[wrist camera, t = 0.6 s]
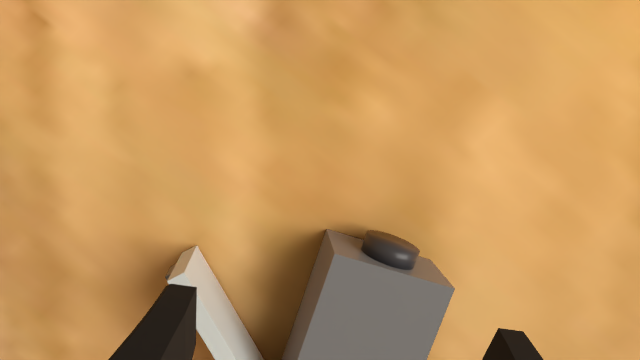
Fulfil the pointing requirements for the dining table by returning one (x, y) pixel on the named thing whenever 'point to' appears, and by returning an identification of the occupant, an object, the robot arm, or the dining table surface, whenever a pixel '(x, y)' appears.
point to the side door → (213, 309)
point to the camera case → (369, 301)
